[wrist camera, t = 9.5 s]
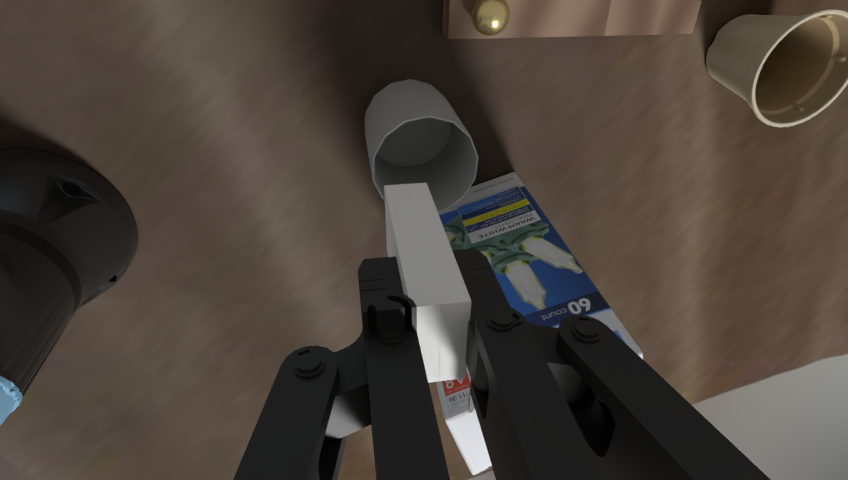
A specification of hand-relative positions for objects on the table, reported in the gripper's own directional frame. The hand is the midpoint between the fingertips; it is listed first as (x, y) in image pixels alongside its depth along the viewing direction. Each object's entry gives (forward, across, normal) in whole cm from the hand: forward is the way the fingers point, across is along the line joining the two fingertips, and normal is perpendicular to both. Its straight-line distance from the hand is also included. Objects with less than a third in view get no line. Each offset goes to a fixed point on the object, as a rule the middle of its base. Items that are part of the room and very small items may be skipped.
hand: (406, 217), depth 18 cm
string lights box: (+30, +10, -18) cm, 36 cm away
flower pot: (+29, +36, -1) cm, 47 cm away
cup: (+30, +4, -7) cm, 31 cm away
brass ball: (+25, +10, +3) cm, 27 cm away
